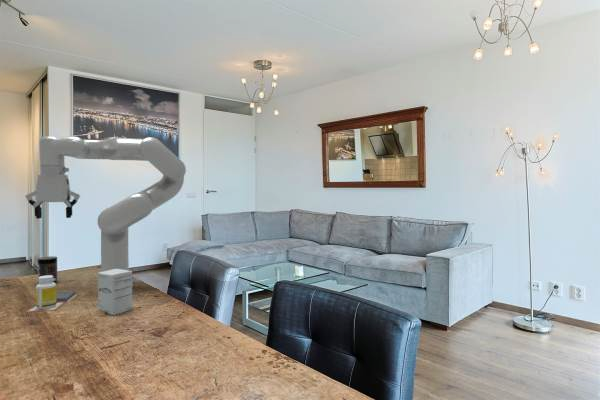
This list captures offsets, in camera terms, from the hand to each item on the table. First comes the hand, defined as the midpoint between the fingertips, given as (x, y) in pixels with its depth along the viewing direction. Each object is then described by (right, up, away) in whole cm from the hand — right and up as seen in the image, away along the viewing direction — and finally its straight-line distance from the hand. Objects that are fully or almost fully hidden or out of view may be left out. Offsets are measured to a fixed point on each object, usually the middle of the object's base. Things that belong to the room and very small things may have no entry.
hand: (53, 218), depth 141 cm
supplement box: (+31, -29, -18) cm, 46 cm away
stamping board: (+7, -28, -12) cm, 32 cm away
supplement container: (-13, -28, +16) cm, 34 cm away
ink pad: (+7, -28, -8) cm, 29 cm away
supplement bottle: (+8, -28, -17) cm, 34 cm away
